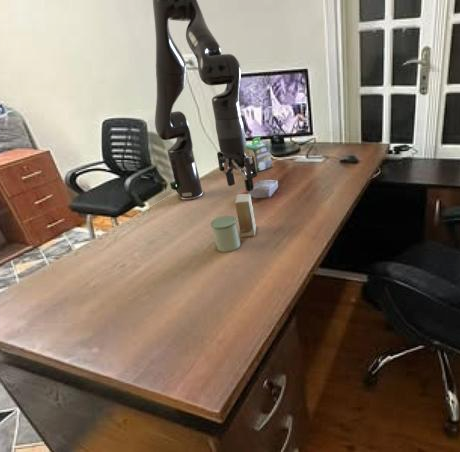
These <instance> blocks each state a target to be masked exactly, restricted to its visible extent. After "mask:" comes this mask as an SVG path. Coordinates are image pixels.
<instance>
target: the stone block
mask: <svg viewBox="0 0 460 452" xmlns="http://www.w3.org/2000/svg"><path fill="white" fill-rule="evenodd" d="M253 186H254V188H253V190H251V191H249V192H248V194H250V195H251V198H254V199H270V198H271V197H272V196H273V194H274V193H275V192H276V190H277V189H278V188H279V181H278V180H272V179H263V180H259V181H257V182H255V183H253Z"/></svg>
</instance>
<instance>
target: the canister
mask: <svg viewBox="0 0 460 452" xmlns="http://www.w3.org/2000/svg"><path fill="white" fill-rule="evenodd" d="M237 222H238V219H237V218H236V217H235V216H233V215H222V216H218V217H216V218H214V219H212V220H211V222H210V227H211V228H212V232H213V237H214V241H215V246H216V249H217V251H219V252H222V253H229V252H232V251H235V250H237V249H238V248H240V246H241V238H240V233H239V230H238V223H237Z"/></svg>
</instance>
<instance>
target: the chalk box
mask: <svg viewBox="0 0 460 452" xmlns="http://www.w3.org/2000/svg"><path fill="white" fill-rule="evenodd" d="M246 145H247V149H246V150H245V155H246V157H251V156H253V157H254V161H255V167H256V172H257V173H259V172H261V171H264V170H267V169H270V168H273V163H272V162H273V161H272V155H271V148H270V143H268V142H262V141H261V136H259V137H255V138H252V142H251V143H248V144H246Z"/></svg>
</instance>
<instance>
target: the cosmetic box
mask: <svg viewBox="0 0 460 452" xmlns="http://www.w3.org/2000/svg"><path fill="white" fill-rule="evenodd" d="M234 207H235V210H236V215H237V222H238V225H239V231H240V236H241V238H246V237H255V236H256V230H257V226H256V220H255V213H254V208H253V202H252V197H251V195H250V194H249V193H244V194H243V193H242V194H236V196H235V200H234Z"/></svg>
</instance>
